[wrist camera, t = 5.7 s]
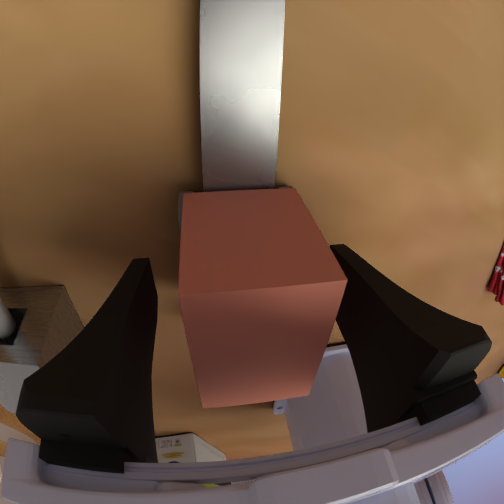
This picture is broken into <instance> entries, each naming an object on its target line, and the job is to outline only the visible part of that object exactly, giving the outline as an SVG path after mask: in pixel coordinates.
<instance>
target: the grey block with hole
mask: <svg viewBox="0 0 504 504" xmlns="http://www.w3.org/2000/svg"><path fill="white" fill-rule="evenodd" d="M0 297H1V299H2V300H3V302H4V304H5V305H6V307H7V309H8V310H9V312H10V314H11V315H12V317H13V319H14V320H15V322H16V327H15V330H14V331H13V333H12V334H11V335H10V336H9V337H7V338H4V339H0V404H1V405H2V406H3V407H4V408H5V409H6V410H8V411H9V412H10V413H15V414H16V409H17V405H18V400H19V396H20V391H21V388H22V384H23V381H24V379H26V378H27V377H29V376H30V375H32V374H33V373H34V372H36V371H37V370H38V369H40V368H41V367H43V366H44V365H45V364H46V363H48V362H49V361H50V360H51V359H53V358H54V357H55V356H56V355H57V354H58V353H60V352H61V351H62V350H63V349H64V348H65V347H66V346H67V345H68V344H69V343H70V342H71V341H72V340H73V339H74V338H75V337H76V336H77V335H78V334H79V333H80V332H81V331H82V330H83V329H84V327H83V325H82V323H81V321H80V319H79V317H78V315H77V313H76V311H75V308H74V306H73V304H72V302H71V300H70V298H69V296H68V293H67V291H66V289H65V287H64V286H43V287H18V288H0Z"/></svg>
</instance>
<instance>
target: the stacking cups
mask: <svg viewBox="0 0 504 504" xmlns="http://www.w3.org/2000/svg"><path fill="white" fill-rule="evenodd" d="M499 375H500V377H501V378H504V366H503V367H502V369H501V370H500V372H499Z"/></svg>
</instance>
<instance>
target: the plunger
mask: <svg viewBox="0 0 504 504" xmlns="http://www.w3.org/2000/svg"><path fill="white" fill-rule="evenodd" d="M15 327H16V322H15V320H14V319H13V317H12V315H11V314H10V312H9V310H8V309H7V307H6V305H5V304H4V302H3V300H2V299H1V297H0V339H4V338H7V337H9V336H10V335H11V334H12V333H13V331H14V330H15Z"/></svg>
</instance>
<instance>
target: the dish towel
mask: <svg viewBox="0 0 504 504" xmlns="http://www.w3.org/2000/svg"><path fill="white" fill-rule="evenodd" d="M488 291H490V292H493V294H495V295H497V296H496V297H495V301H496V302H500V304H501V305H504V245H503V248H502V251H501V254H500V257H499V260H498V262H497V265H496V267H495V271H494V274H493V276H492V278H491V280H490V282H489V285H488Z"/></svg>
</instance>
